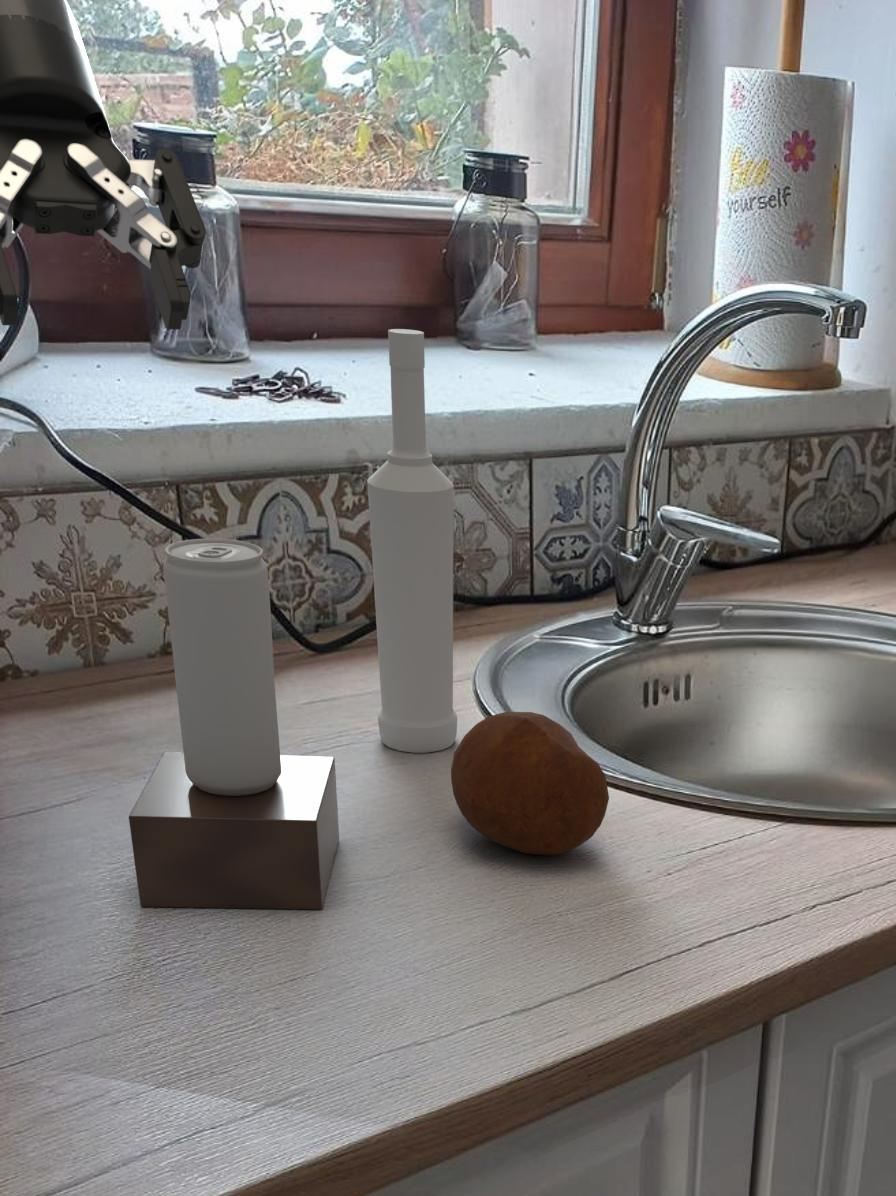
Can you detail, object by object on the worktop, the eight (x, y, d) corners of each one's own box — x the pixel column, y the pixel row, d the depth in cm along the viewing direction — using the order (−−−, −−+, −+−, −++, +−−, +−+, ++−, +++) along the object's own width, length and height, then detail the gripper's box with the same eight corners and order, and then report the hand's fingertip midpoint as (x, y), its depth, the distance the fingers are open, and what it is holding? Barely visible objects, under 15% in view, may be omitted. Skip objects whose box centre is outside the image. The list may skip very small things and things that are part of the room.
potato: (547, 891, 84) (549, 761, 80) (406, 834, 88) (402, 710, 85) (643, 846, 90) (649, 724, 86) (506, 795, 95) (506, 678, 91)
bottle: (471, 735, 103) (467, 333, 91) (433, 759, 99) (422, 340, 86) (404, 721, 104) (390, 322, 92) (362, 744, 100) (342, 329, 88)
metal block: (140, 907, 78) (128, 816, 75) (173, 835, 86) (163, 750, 83) (322, 910, 79) (316, 821, 77) (339, 839, 87) (334, 756, 85)
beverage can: (169, 791, 78) (141, 554, 72) (214, 759, 83) (192, 533, 77) (258, 804, 78) (237, 567, 72) (299, 772, 82) (283, 545, 76)
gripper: (-128, -8, 79) (-47, 264, 77) (157, 26, 86) (238, 275, 84) (-123, 107, 85) (-48, 361, 83) (142, 130, 93) (217, 364, 90)
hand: (96, 318), depth 84 cm, fingers open, 8 cm apart
